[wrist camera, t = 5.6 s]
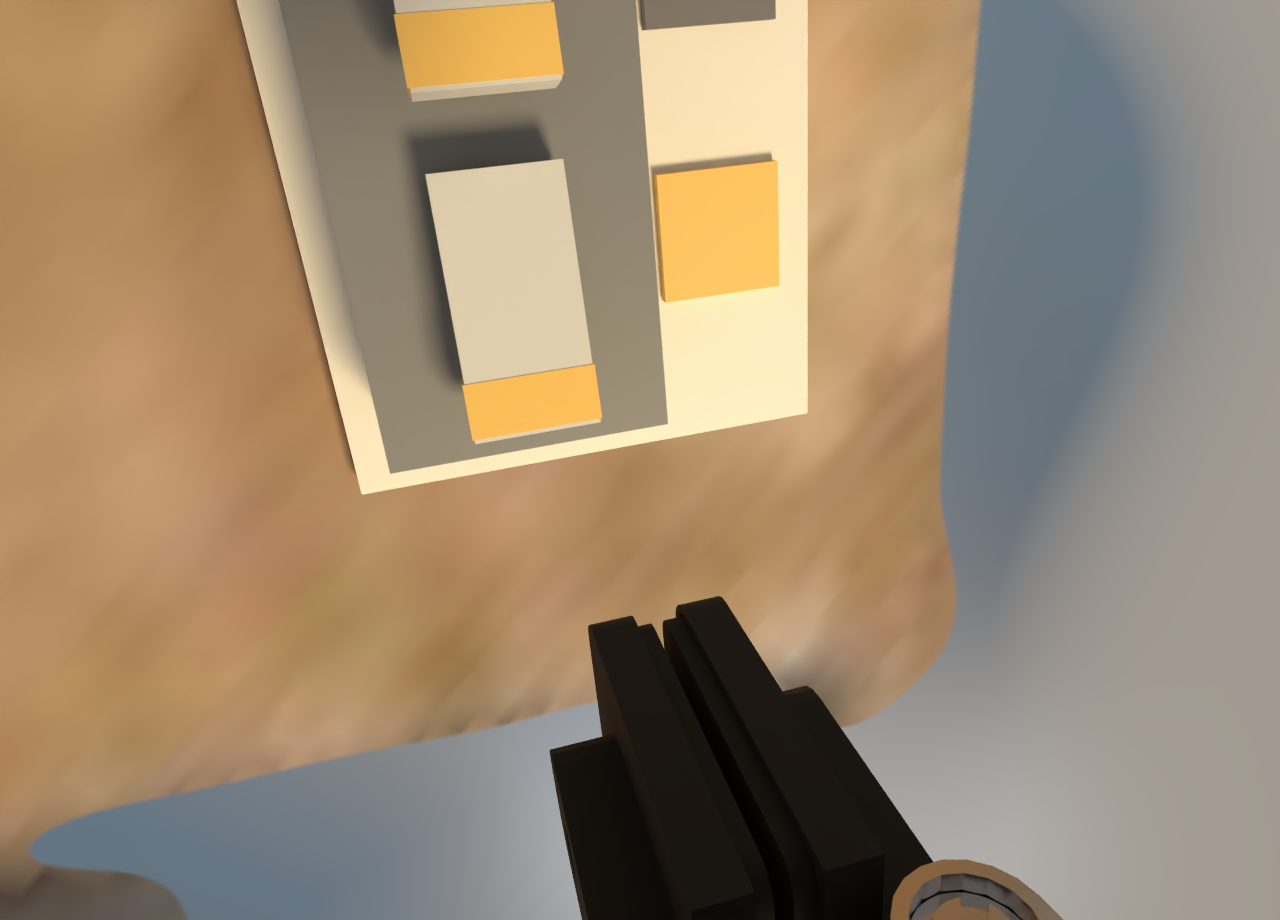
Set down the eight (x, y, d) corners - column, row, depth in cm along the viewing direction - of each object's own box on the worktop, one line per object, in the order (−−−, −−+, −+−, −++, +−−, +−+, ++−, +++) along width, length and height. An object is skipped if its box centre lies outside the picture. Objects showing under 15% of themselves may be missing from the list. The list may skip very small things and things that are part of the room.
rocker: (423, 178, 20) (423, 174, 19) (559, 163, 21) (565, 158, 20) (471, 436, 22) (473, 444, 21) (595, 414, 22) (603, 421, 21)
